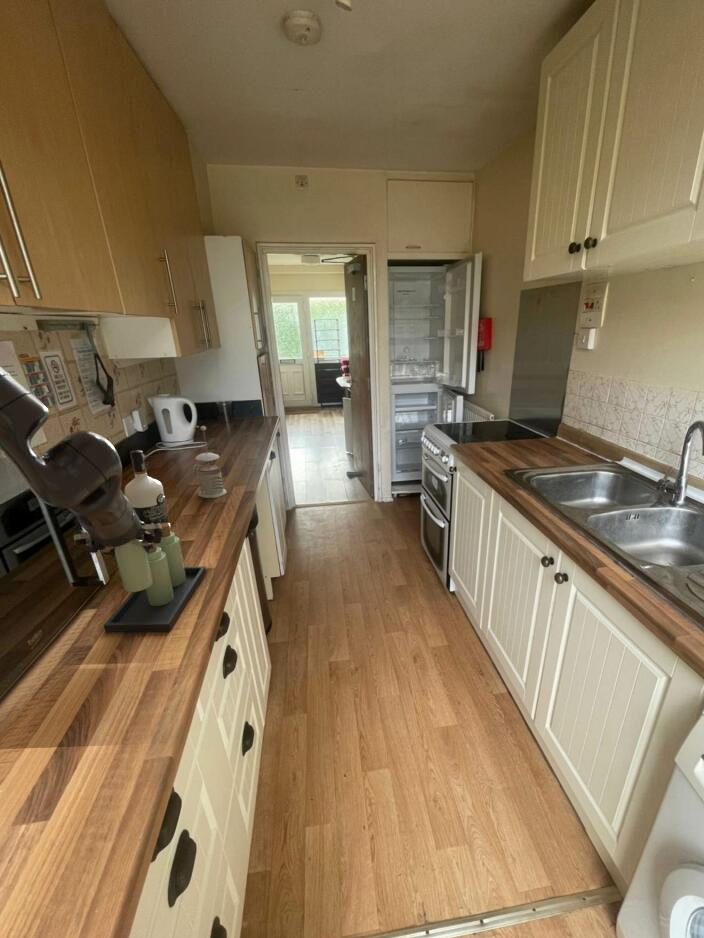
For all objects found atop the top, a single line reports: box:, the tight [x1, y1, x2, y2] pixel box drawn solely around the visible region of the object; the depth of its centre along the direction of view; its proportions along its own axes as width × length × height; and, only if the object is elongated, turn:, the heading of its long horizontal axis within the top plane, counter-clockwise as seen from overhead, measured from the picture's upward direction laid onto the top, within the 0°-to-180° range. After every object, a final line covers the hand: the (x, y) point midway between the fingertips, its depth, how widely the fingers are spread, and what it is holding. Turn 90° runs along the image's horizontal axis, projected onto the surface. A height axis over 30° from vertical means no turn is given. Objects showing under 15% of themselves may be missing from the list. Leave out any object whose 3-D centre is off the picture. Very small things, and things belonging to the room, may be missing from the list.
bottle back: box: [156, 522, 186, 587], centre depth 100 cm, size 5×5×15 cm
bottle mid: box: [146, 543, 174, 606], centre depth 93 cm, size 5×5×15 cm
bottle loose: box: [113, 543, 153, 593], centre depth 83 cm, size 5×5×15 cm
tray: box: [103, 565, 207, 634], centre depth 96 cm, size 13×23×2 cm, turn 3°
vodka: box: [124, 449, 172, 533], centre depth 106 cm, size 9×9×30 cm
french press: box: [192, 425, 227, 499], centre depth 153 cm, size 10×12×25 cm
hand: (131, 549), depth 84 cm, fingers closed on bottle loose, 5 cm apart
